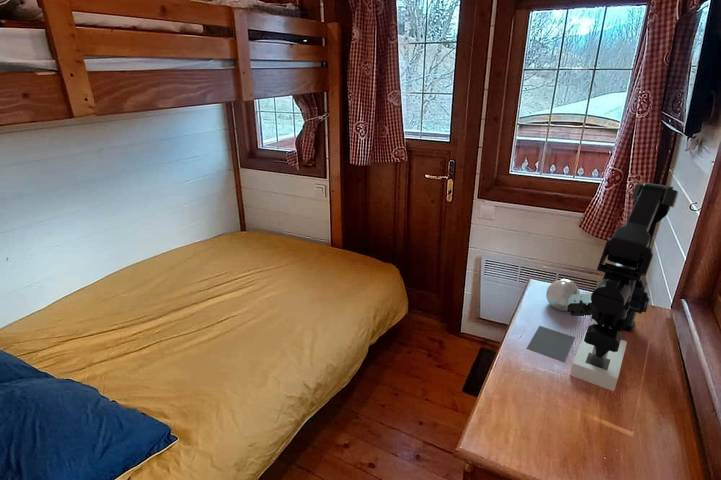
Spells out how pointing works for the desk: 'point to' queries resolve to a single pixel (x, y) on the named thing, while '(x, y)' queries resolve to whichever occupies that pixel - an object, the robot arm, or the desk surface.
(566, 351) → the mat
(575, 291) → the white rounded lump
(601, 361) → the peg
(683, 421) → the desk surface
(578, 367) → the hole block
